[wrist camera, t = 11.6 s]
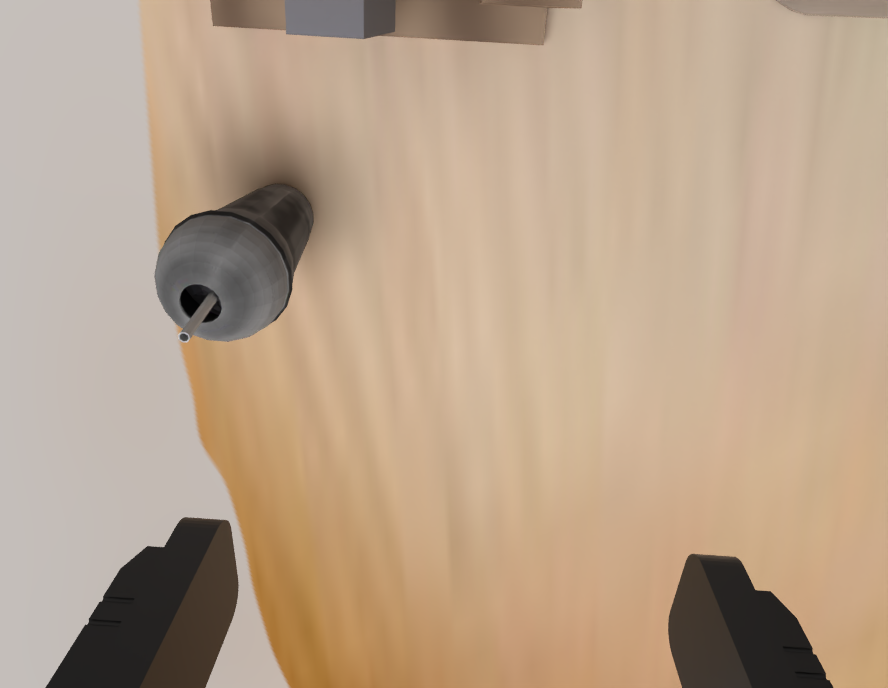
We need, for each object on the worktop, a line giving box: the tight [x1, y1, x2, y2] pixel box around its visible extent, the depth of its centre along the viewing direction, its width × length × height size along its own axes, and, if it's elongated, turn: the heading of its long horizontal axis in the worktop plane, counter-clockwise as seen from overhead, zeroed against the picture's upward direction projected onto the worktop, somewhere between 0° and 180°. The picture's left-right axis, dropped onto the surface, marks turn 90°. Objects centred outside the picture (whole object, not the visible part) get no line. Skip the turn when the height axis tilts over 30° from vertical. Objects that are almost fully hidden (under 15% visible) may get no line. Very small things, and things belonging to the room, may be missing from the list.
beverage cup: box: [155, 184, 313, 342], centre depth 37 cm, size 7×7×20 cm
